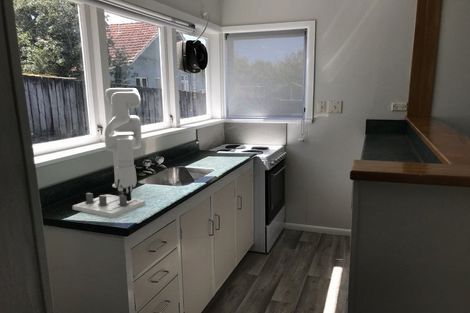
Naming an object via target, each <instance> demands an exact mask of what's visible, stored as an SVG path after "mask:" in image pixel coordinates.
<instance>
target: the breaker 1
mask: <svg viewBox="0 0 470 313" xmlns="http://www.w3.org/2000/svg"><path fill="white" fill-rule="evenodd" d="M85 198H86V199H85V200H86V201H84V202H85V203H90V204H91V203H94V202H95V201H93V199H94V193H93V192H92V193H91V192H87V193H86V192H85Z"/></svg>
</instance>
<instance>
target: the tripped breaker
mask: <svg viewBox="0 0 470 313" xmlns="http://www.w3.org/2000/svg"><path fill="white" fill-rule="evenodd" d="M118 196H119V199H120V204H118V205H120V206H126V205H129V203H127V198H126V196H125V195H118Z"/></svg>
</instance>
